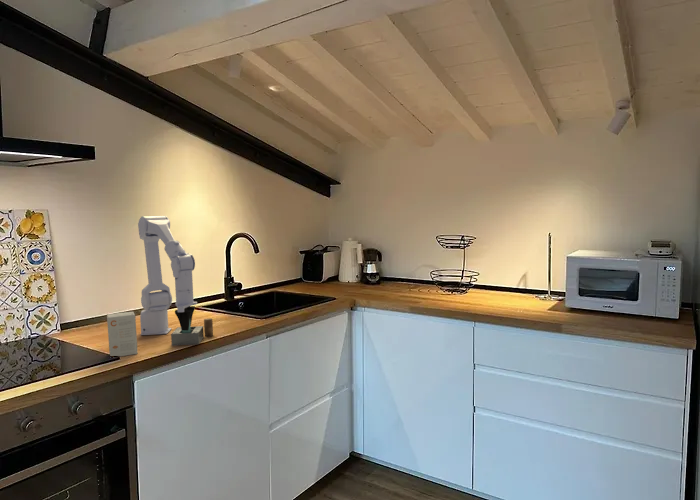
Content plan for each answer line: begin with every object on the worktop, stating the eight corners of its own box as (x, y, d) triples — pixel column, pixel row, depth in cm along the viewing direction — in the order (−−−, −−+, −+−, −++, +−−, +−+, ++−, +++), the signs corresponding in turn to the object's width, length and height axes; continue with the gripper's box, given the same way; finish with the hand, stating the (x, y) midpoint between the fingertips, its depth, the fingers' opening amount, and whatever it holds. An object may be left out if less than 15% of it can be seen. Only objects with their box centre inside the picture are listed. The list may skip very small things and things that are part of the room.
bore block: (171, 345, 171) (171, 334, 170) (178, 338, 180) (177, 327, 180) (198, 344, 172) (198, 332, 171) (203, 337, 182) (203, 326, 181)
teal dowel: (181, 338, 172) (179, 315, 171) (183, 336, 175) (181, 314, 174) (190, 338, 172) (188, 315, 172) (191, 336, 175) (190, 313, 175)
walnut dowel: (203, 336, 182) (203, 320, 182) (205, 334, 185) (204, 318, 185) (212, 336, 182) (211, 320, 182) (213, 334, 185) (212, 318, 185)
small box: (135, 349, 167) (133, 311, 166) (137, 354, 161) (135, 314, 160) (109, 353, 163) (106, 313, 162) (110, 358, 157) (107, 317, 156)
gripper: (192, 292, 166) (194, 333, 167) (199, 286, 180) (201, 323, 181) (170, 293, 165) (172, 334, 166) (179, 287, 179) (181, 324, 180)
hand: (186, 328), depth 173 cm, fingers closed on teal dowel, 3 cm apart
